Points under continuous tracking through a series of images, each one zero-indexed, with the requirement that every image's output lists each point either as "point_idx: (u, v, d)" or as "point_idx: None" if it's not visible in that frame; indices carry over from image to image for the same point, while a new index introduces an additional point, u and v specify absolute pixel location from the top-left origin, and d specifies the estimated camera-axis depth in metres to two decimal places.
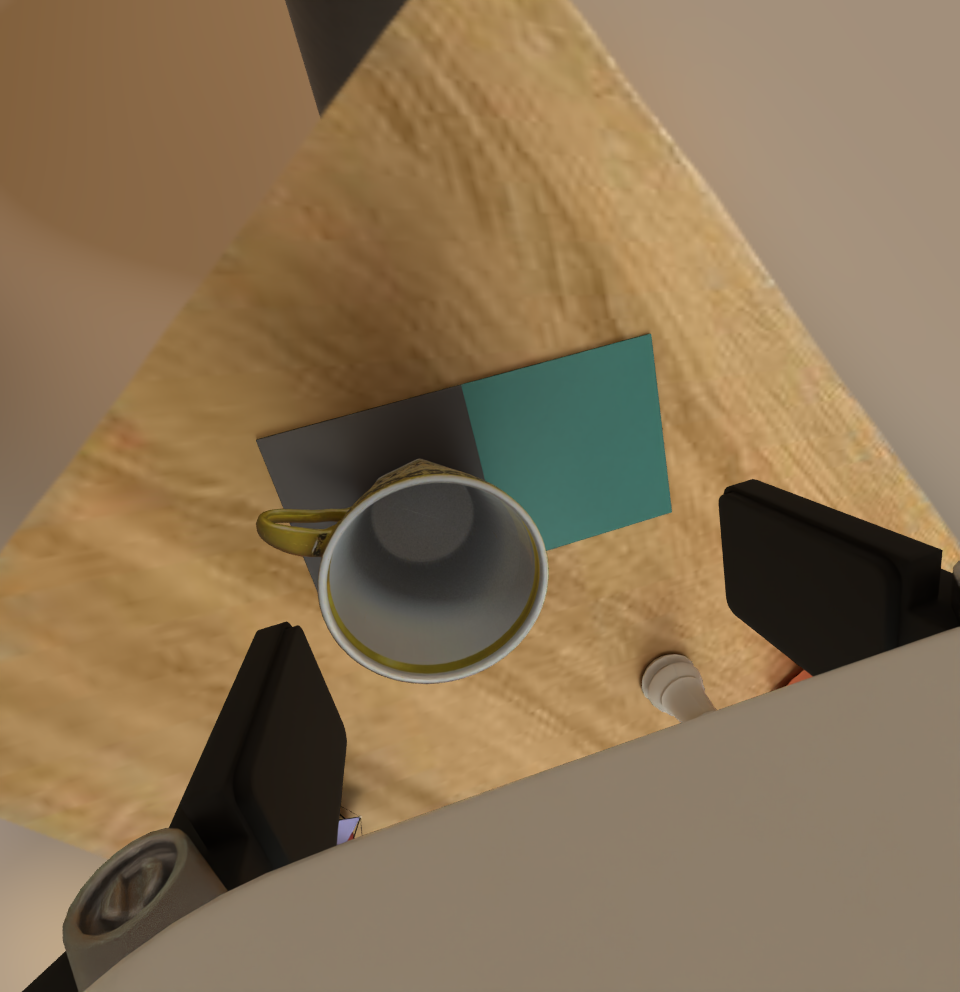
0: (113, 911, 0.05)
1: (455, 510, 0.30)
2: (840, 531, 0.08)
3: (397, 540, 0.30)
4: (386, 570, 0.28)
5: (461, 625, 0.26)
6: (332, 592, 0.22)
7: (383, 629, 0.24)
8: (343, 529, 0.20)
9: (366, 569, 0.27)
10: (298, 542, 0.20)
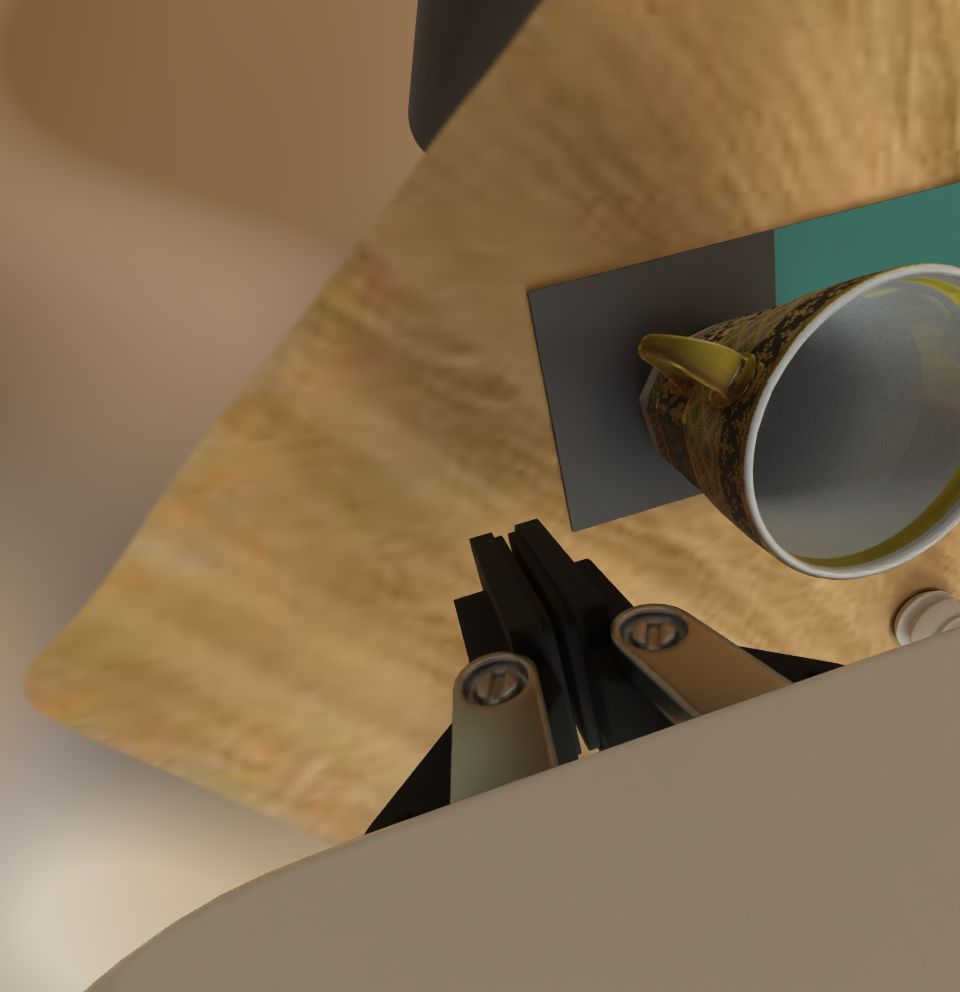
0: (493, 695, 0.07)
1: None
2: (552, 577, 0.08)
3: None
4: None
5: (819, 519, 0.20)
6: None
7: None
8: (805, 340, 0.14)
9: None
10: (724, 364, 0.14)
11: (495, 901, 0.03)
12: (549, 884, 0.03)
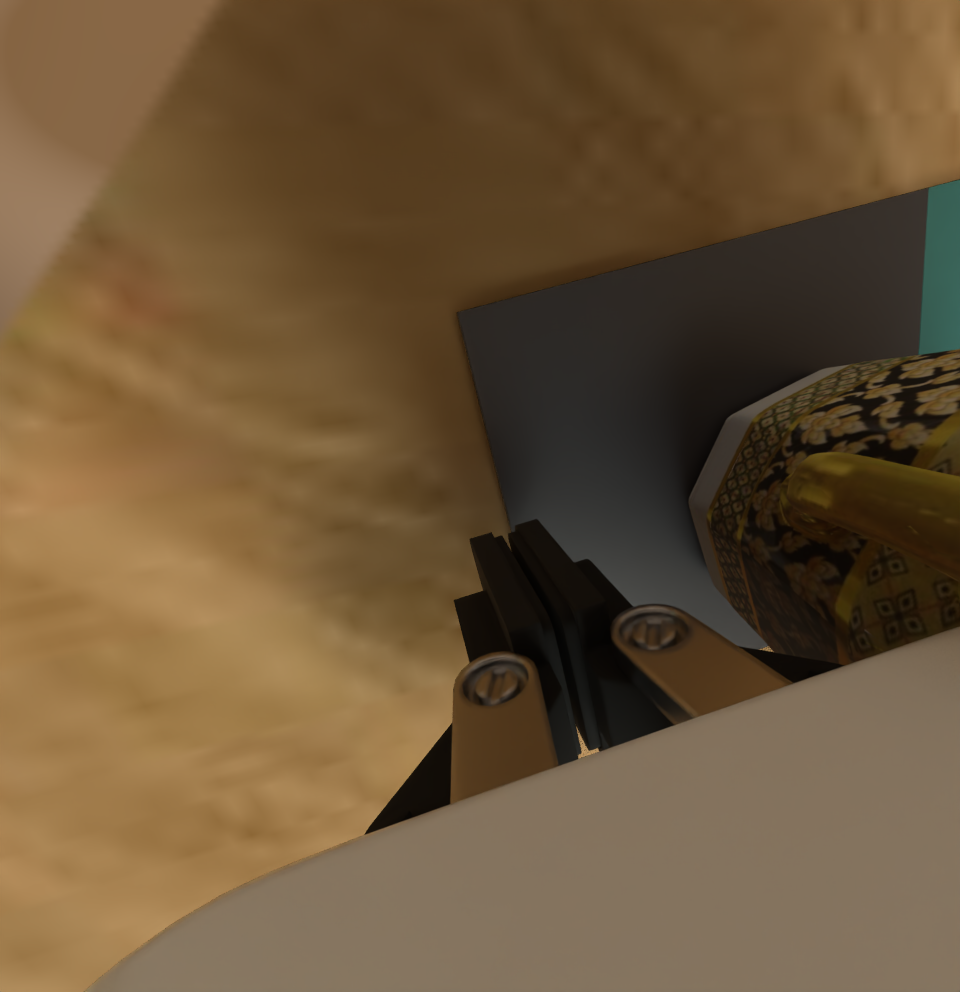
0: (493, 695, 0.07)
1: None
2: (552, 578, 0.08)
3: None
4: None
5: None
6: None
7: None
8: None
9: None
10: None
11: (495, 901, 0.03)
12: (549, 884, 0.03)
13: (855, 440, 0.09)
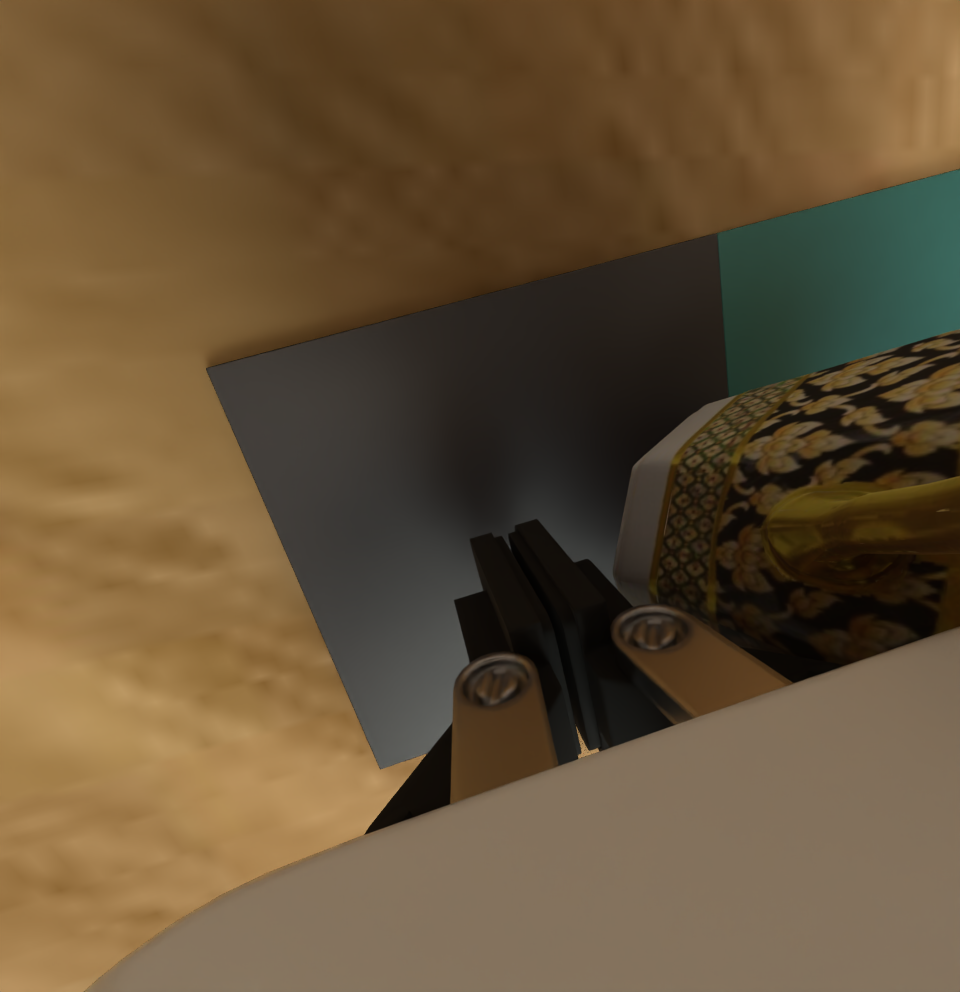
0: (493, 696, 0.07)
1: None
2: (552, 578, 0.08)
3: None
4: None
5: None
6: None
7: None
8: None
9: None
10: None
11: (495, 901, 0.03)
12: (549, 884, 0.03)
13: (843, 456, 0.07)
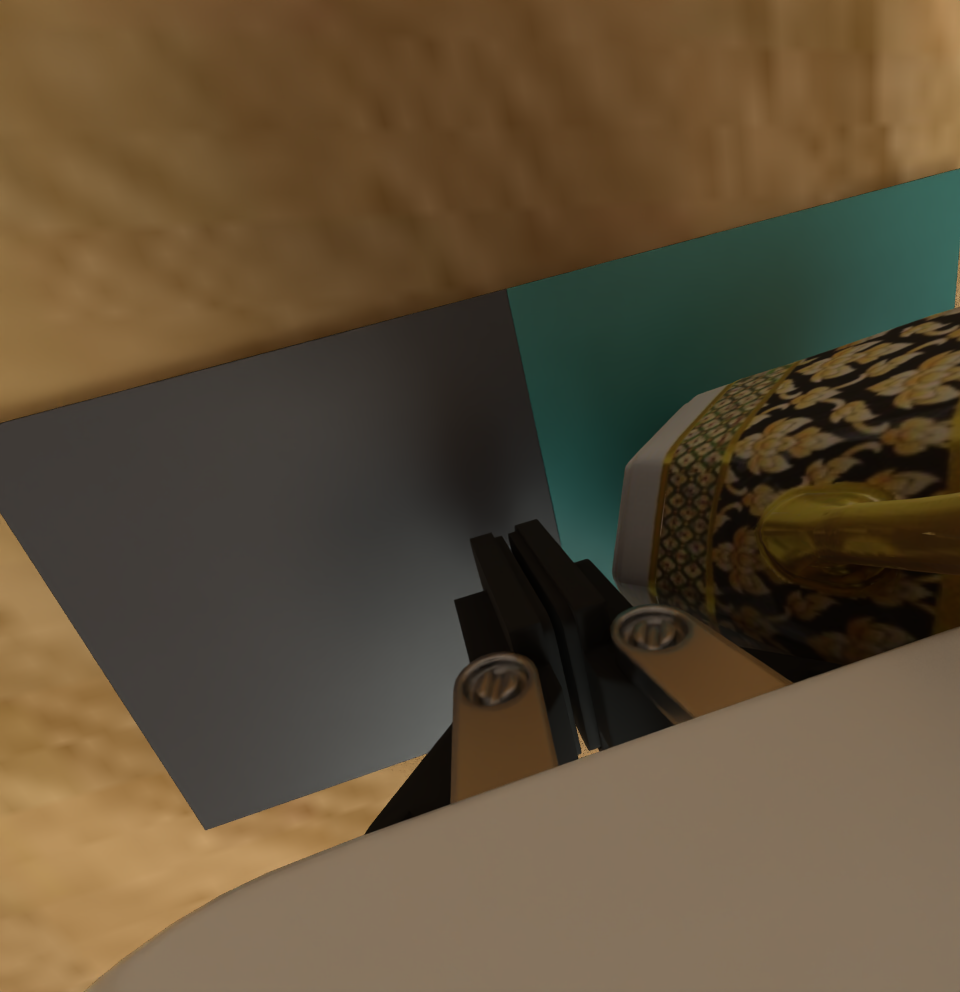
0: (493, 695, 0.07)
1: None
2: (552, 578, 0.08)
3: None
4: None
5: None
6: None
7: None
8: None
9: None
10: None
11: (495, 901, 0.03)
12: (549, 884, 0.03)
13: (834, 456, 0.07)
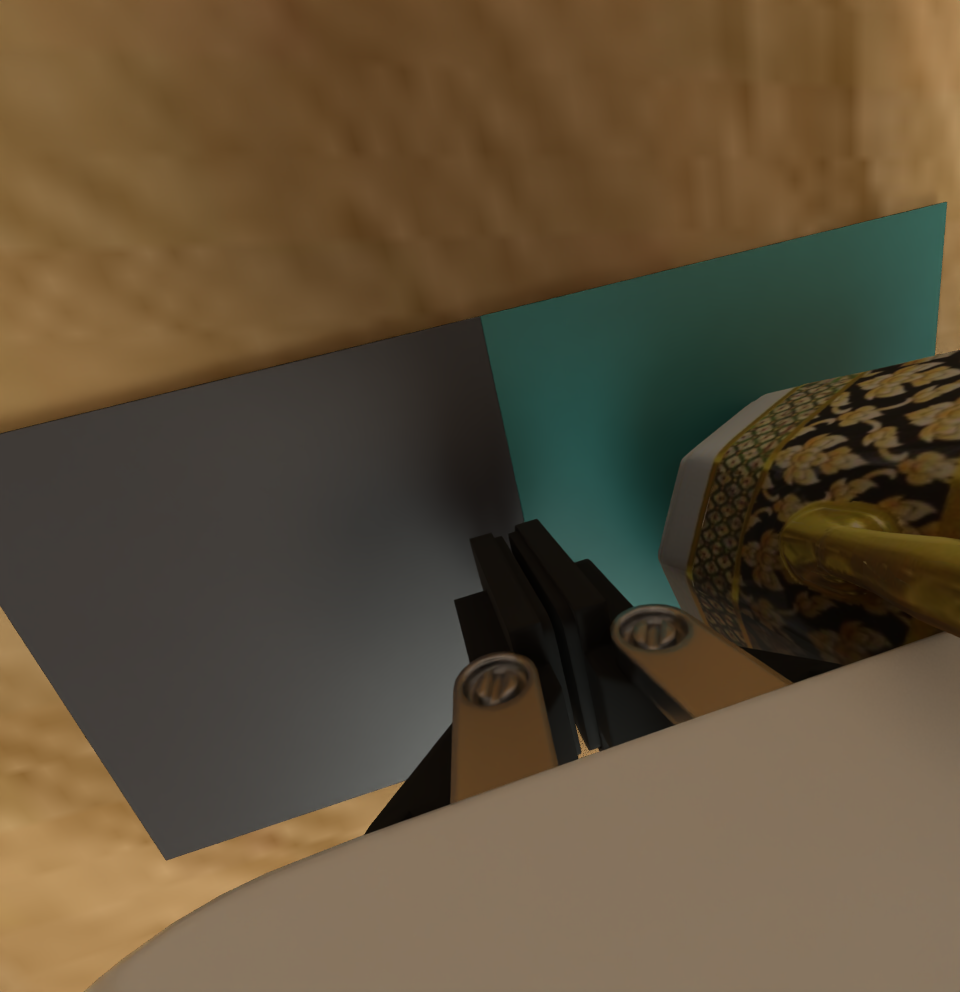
0: (493, 695, 0.07)
1: None
2: (552, 578, 0.08)
3: None
4: None
5: None
6: None
7: None
8: None
9: None
10: None
11: (495, 902, 0.03)
12: (549, 885, 0.03)
13: (856, 477, 0.07)
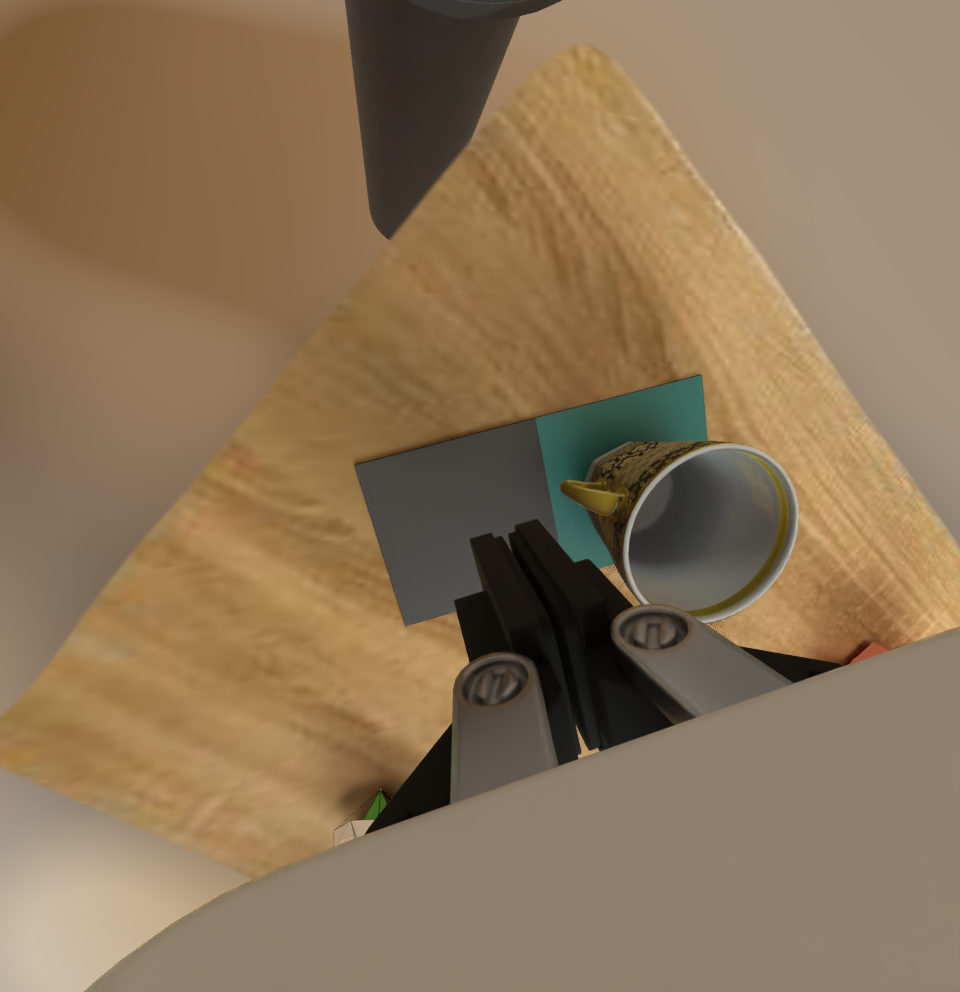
0: (493, 695, 0.07)
1: (655, 487, 0.35)
2: (552, 577, 0.08)
3: None
4: None
5: (695, 580, 0.30)
6: None
7: (638, 583, 0.29)
8: (650, 490, 0.24)
9: None
10: (607, 503, 0.24)
11: (494, 901, 0.03)
12: (549, 884, 0.03)
13: (608, 472, 0.30)
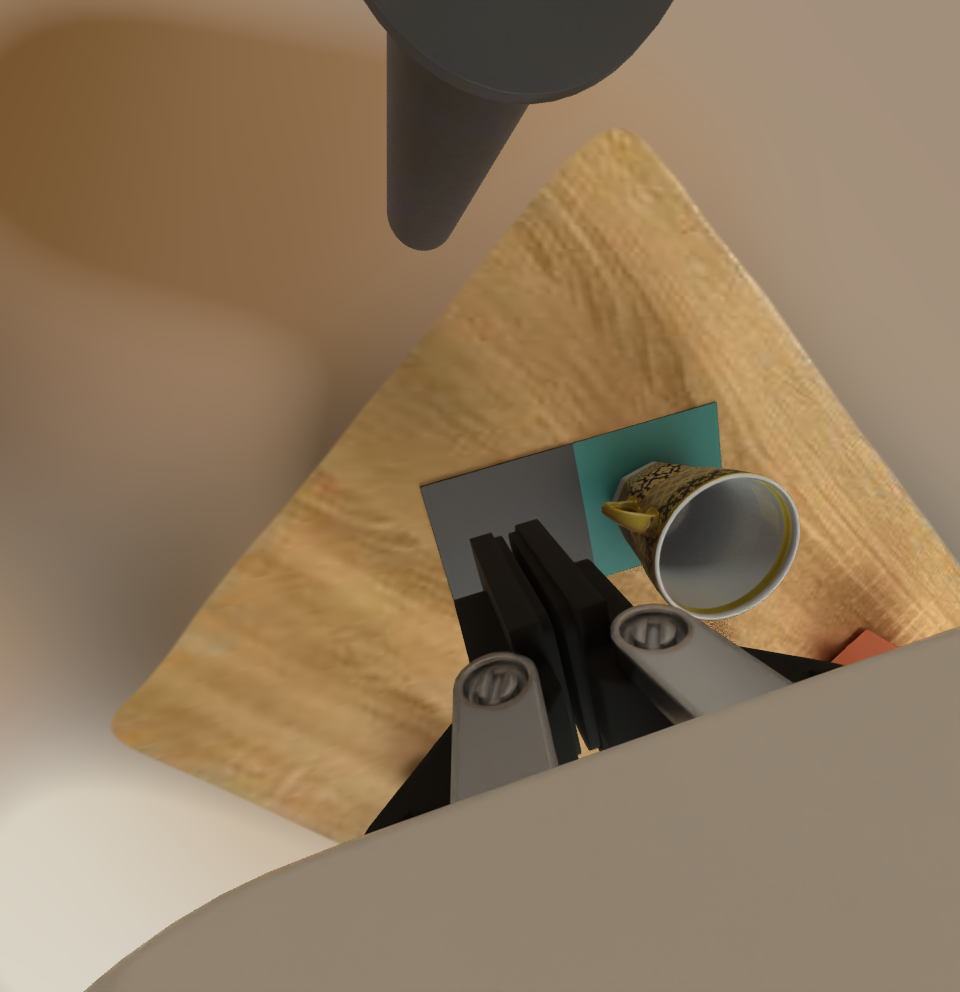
0: (493, 695, 0.07)
1: None
2: (552, 577, 0.08)
3: None
4: None
5: (712, 582, 0.35)
6: None
7: (664, 586, 0.34)
8: (678, 512, 0.29)
9: None
10: (641, 523, 0.30)
11: (495, 901, 0.03)
12: (549, 884, 0.03)
13: (638, 492, 0.35)
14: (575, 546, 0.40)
